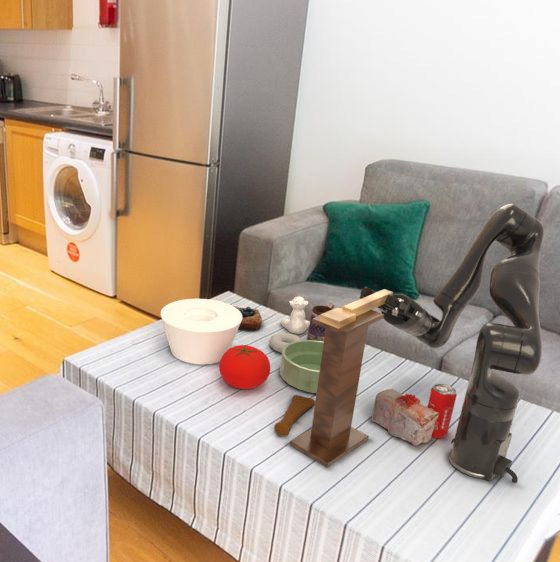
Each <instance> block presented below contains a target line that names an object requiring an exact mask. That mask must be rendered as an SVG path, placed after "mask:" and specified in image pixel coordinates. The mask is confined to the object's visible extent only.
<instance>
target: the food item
mask: <svg viewBox="0 0 560 562" xmlns="http://www.w3.org/2000/svg"><path fill="white" fill-rule="evenodd" d="M438 417H439V413H438V412H435V411H433V410H431V409H430V408H428V406H425V405H423V404H422V403H421V400H420V399H419V398H417V397H416V395H415V394H411V393H410V394H409V393H405V394H403V393H401V392H399V391H397V390H396V389H394V388H388V389H385V390H382V391H380V392H377V394H376V395H375V400H374V404H373V409H372V415H371V422H373V423H375V424H378V425H379V426H380V427H383V428H384V429H386V430H387V431H388V433H389V435H390V436H392V437H394V438H400V439H401V440H403V441H406V442H408V443H410V444H412V446H416V447H417V446H418V445H420V444H427V443H428V442H429V441H431V440H432V438H433V437H432V433H433V429H434V426H435V422H436V421H437V419H438Z"/></svg>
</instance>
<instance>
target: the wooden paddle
mask: <svg viewBox="0 0 560 562" xmlns="http://www.w3.org/2000/svg"><path fill="white" fill-rule="evenodd" d="M375 292H376V293H374V294H371V295H369V296H367V297H364V298H362V299H360V298H359V299H357V300H355V301H353V302H352V301H351V302H349V303H350V304H349V303H346V304H347V305H346V304H344V305H345V306H344V305H342V306H343V309H341V308H339V307H335V309H332V310H330V311H328V312H325V313H323V314H321V315H320V322H323V323H325V324H328V325H330V326H333V327H335V328H338V329H339V328H341V327H343V326H345V325H348V324H350V323H352V322H354V321H355V320H356V316H359V315H361V314H363V313H365V312H368V311H370V310H374V309H378V308H377V307H379V306H381V305H383V304H385V300H386V298H387V296H388V295H389V294H390V295H394V292H393V291H391V290H388V289H385V288H384V289H381V290H378V291H375Z"/></svg>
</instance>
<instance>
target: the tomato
mask: <svg viewBox="0 0 560 562" xmlns="http://www.w3.org/2000/svg"><path fill="white" fill-rule="evenodd" d="M218 363H219V364H218V368H219V369H218V370H219V373H220V375H221V378H222V379H223V380H224V382H225V383H226V384H227V385H229V386H230V387H232V388H235V389H239V390H251V389H254V388H258V387H259V386H261V385H263V384H264V383H265V382H266V381H267V380H268V378H269V376H270V374H271V362H270V360H269V357H268V356H267V355H266V353H265V352H264V351H262V350H261V349H259V348H257V347H255V346H252V345H247V344H239V345H234V346H231V348H230V349H228V350H227V351H226V352H225V353H224V354H223V356H222V358H221V360H220V362H218Z"/></svg>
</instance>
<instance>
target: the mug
mask: <svg viewBox="0 0 560 562" xmlns="http://www.w3.org/2000/svg"><path fill="white" fill-rule="evenodd" d="M335 308H336V307H335V305H334V304H333V303H332V302H328V303H327V304H326V305H315V306H313V307H312V309H311V315H310V320H309V321H310V326H309V327H308V329H307V337H306V340H316V341H323V342H324V336H325V329H326V328H324V327H321V326H319V325H316V324H314V323H312V319H313V318H315V317H318V316H320V315H321V314H323V313H325V312H328V311H330V310H332V309H335Z"/></svg>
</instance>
